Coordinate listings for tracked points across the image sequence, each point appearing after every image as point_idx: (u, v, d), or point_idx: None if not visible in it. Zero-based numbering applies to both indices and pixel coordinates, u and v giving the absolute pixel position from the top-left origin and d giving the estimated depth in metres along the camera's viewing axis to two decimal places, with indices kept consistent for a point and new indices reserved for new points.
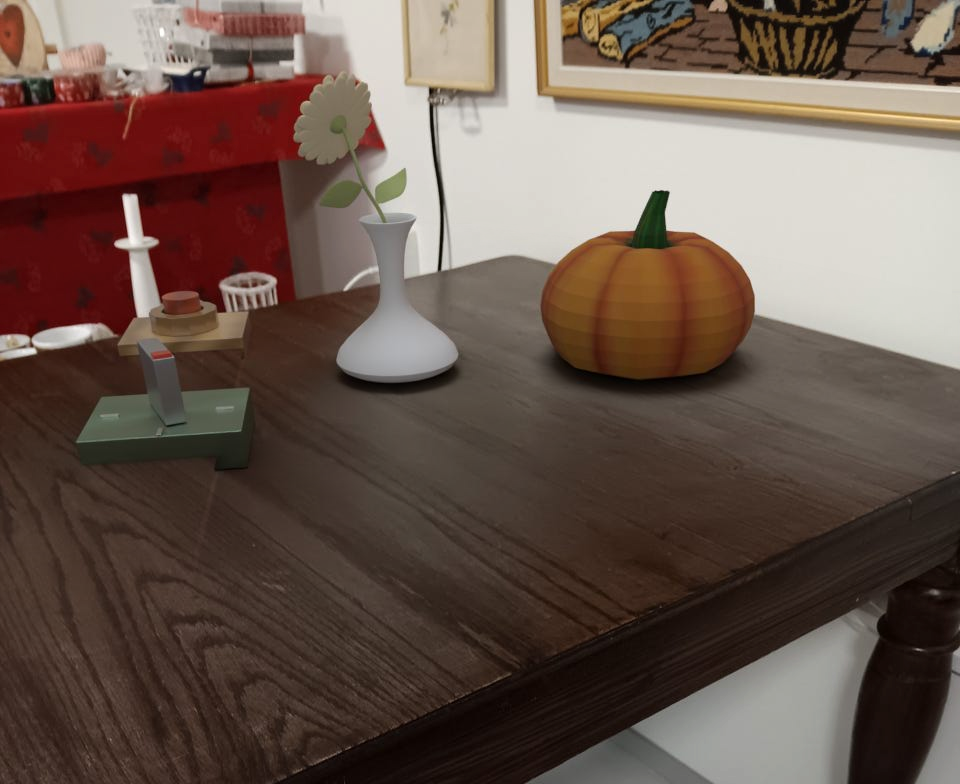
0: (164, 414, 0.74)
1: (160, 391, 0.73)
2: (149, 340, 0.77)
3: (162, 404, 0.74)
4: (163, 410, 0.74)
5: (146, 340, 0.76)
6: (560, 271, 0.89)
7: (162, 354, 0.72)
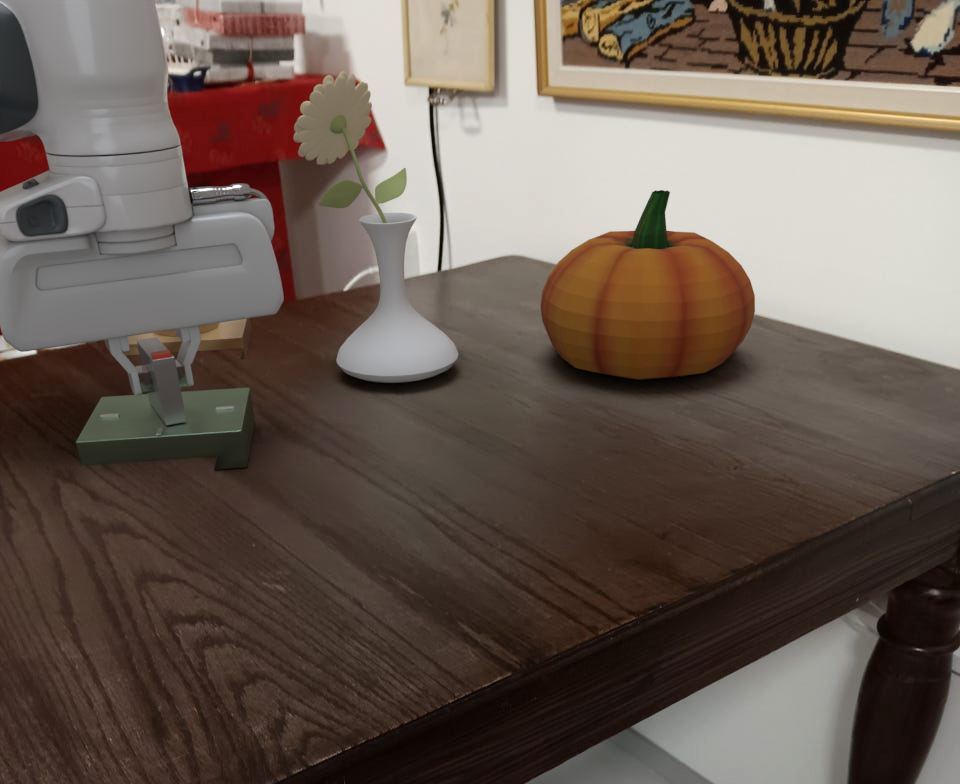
0: (164, 414, 0.74)
1: (160, 391, 0.73)
2: (149, 340, 0.77)
3: (162, 404, 0.74)
4: (163, 410, 0.74)
5: (146, 340, 0.76)
6: (560, 271, 0.89)
7: (162, 354, 0.72)
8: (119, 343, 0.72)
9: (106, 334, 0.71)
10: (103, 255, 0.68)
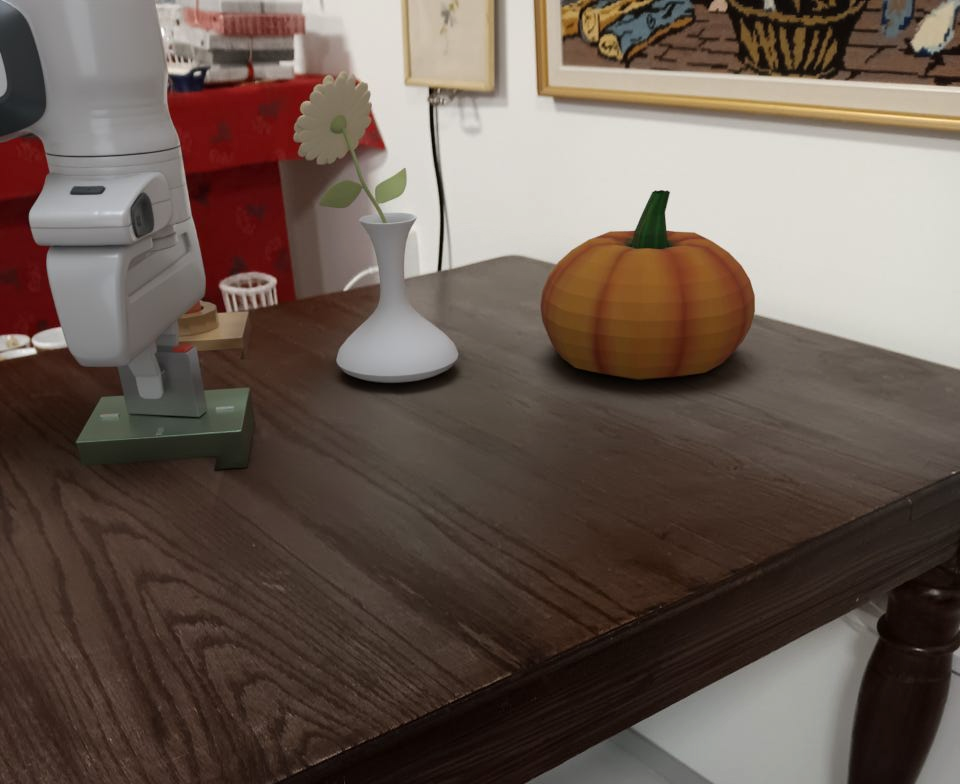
0: (197, 406, 0.76)
1: (193, 382, 0.75)
2: None
3: (195, 396, 0.75)
4: (196, 402, 0.76)
5: None
6: (560, 271, 0.89)
7: (187, 346, 0.74)
8: (152, 345, 0.72)
9: (156, 335, 0.71)
10: (146, 254, 0.69)
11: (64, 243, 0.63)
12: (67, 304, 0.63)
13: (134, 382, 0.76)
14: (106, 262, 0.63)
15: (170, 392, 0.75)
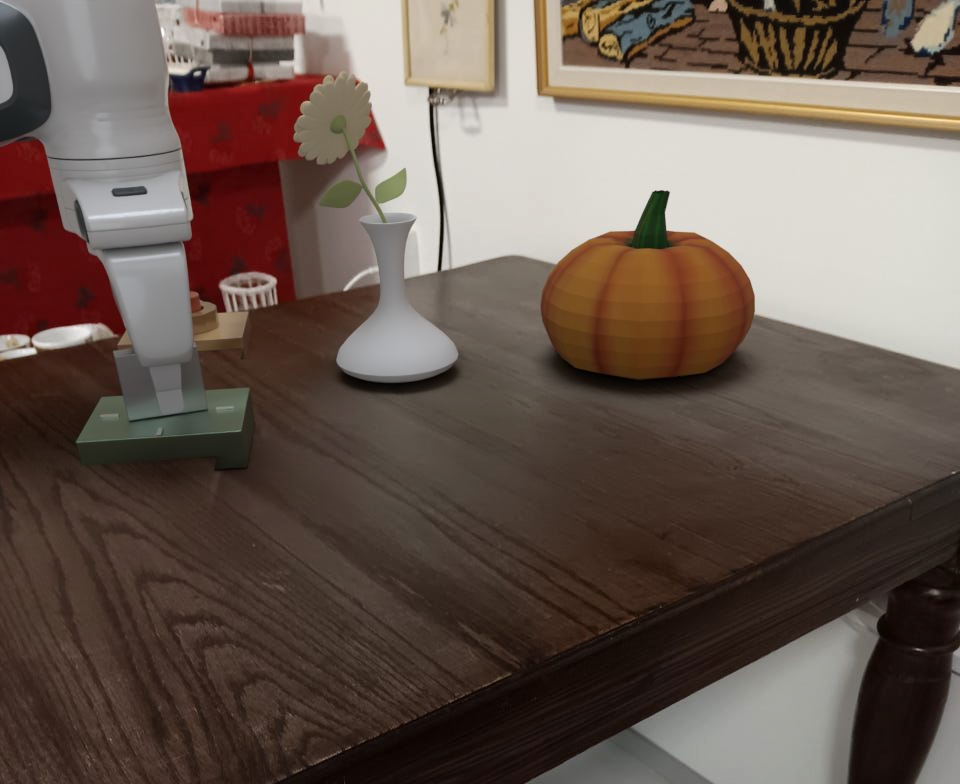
0: (205, 398, 0.77)
1: (201, 375, 0.76)
2: (121, 352, 0.74)
3: (203, 388, 0.77)
4: (204, 394, 0.77)
5: (121, 352, 0.74)
6: (560, 271, 0.89)
7: None
8: None
9: None
10: None
11: (126, 244, 0.63)
12: (136, 304, 0.64)
13: (137, 386, 0.75)
14: (172, 259, 0.64)
15: None
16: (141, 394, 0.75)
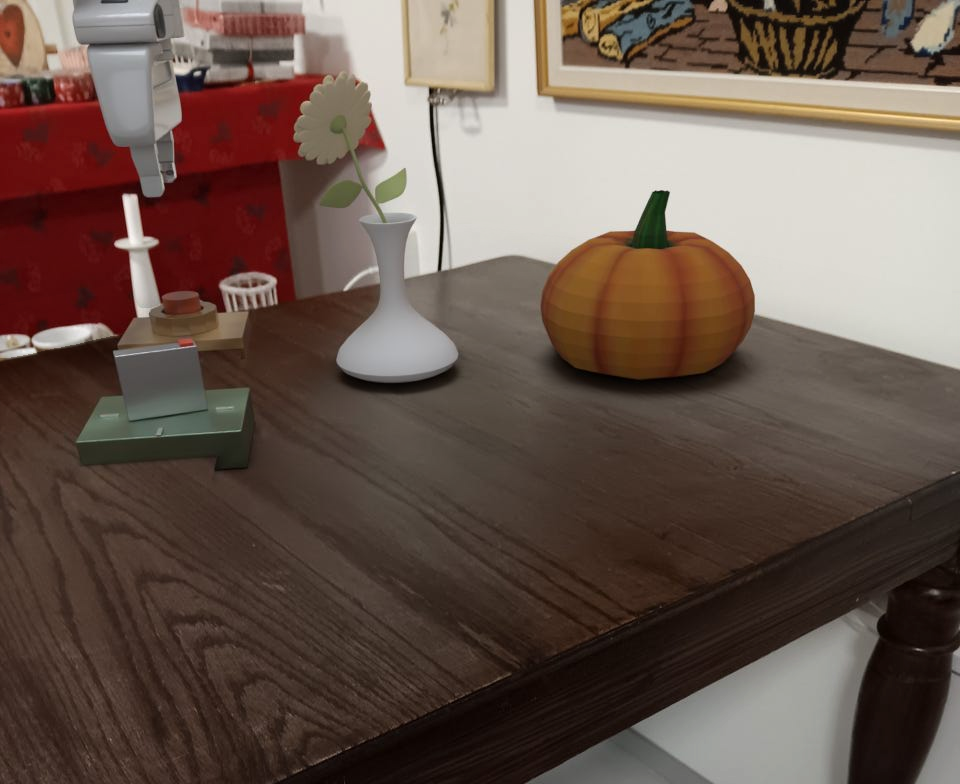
0: (205, 398, 0.77)
1: (201, 375, 0.76)
2: (121, 352, 0.74)
3: (203, 388, 0.77)
4: (204, 394, 0.77)
5: (121, 352, 0.74)
6: (560, 271, 0.89)
7: (190, 340, 0.75)
8: (155, 146, 0.87)
9: (164, 131, 0.88)
10: (154, 62, 0.86)
11: (102, 40, 0.80)
12: (107, 90, 0.81)
13: (137, 386, 0.75)
14: (138, 54, 0.80)
15: (177, 389, 0.76)
16: (141, 394, 0.75)
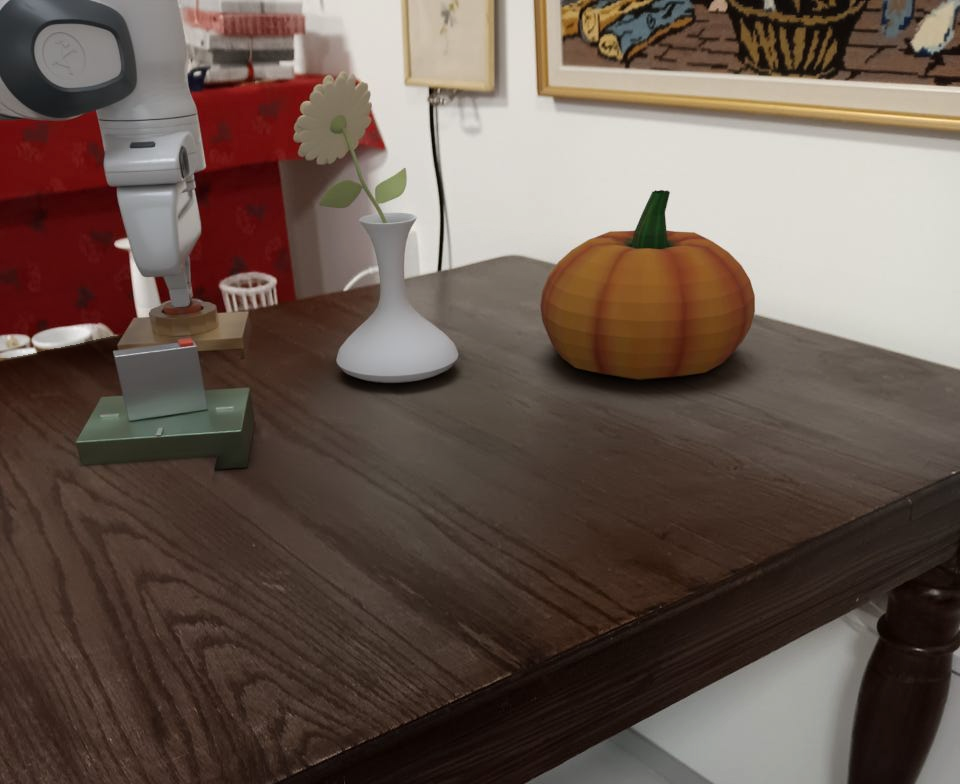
0: (205, 398, 0.77)
1: (201, 375, 0.76)
2: (121, 352, 0.74)
3: (203, 388, 0.77)
4: (204, 394, 0.77)
5: (121, 352, 0.74)
6: (560, 271, 0.89)
7: (190, 340, 0.75)
8: (183, 263, 0.96)
9: (187, 256, 0.94)
10: None
11: (131, 183, 0.86)
12: (135, 228, 0.87)
13: (137, 386, 0.75)
14: (164, 196, 0.86)
15: (177, 389, 0.76)
16: (141, 394, 0.75)
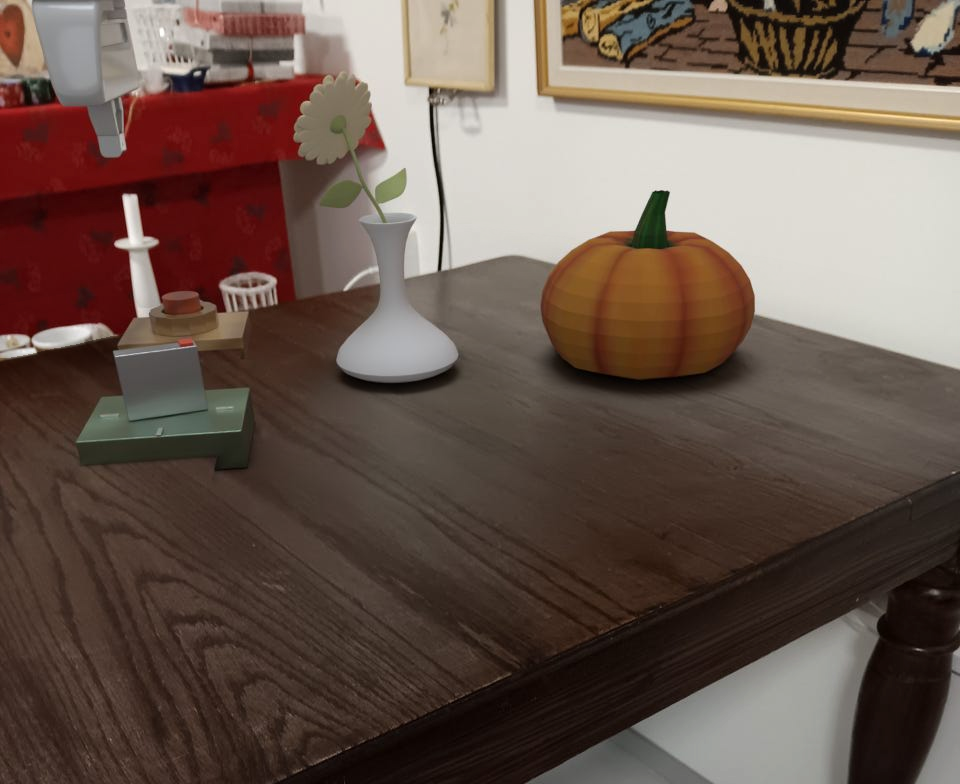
0: (205, 398, 0.77)
1: (201, 375, 0.76)
2: (121, 352, 0.74)
3: (203, 388, 0.77)
4: (204, 394, 0.77)
5: (121, 352, 0.74)
6: (560, 271, 0.89)
7: (190, 340, 0.75)
8: (113, 105, 0.86)
9: (116, 94, 0.84)
10: (105, 20, 0.82)
11: None
12: (52, 45, 0.77)
13: (137, 386, 0.75)
14: (85, 8, 0.76)
15: (177, 389, 0.76)
16: (141, 394, 0.75)
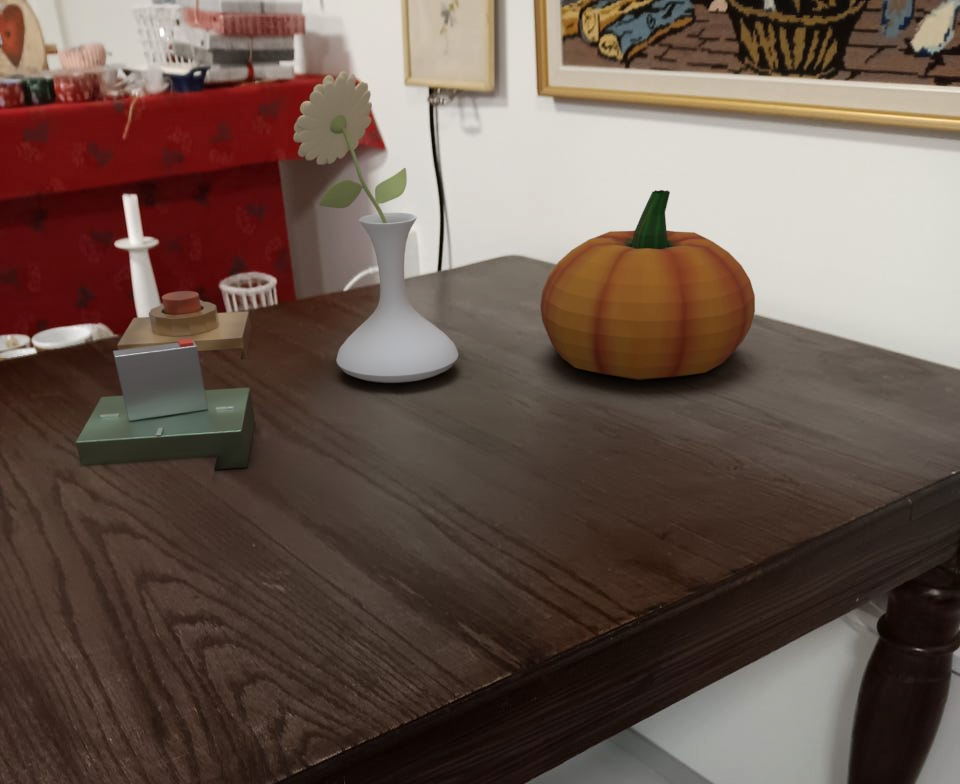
0: (205, 398, 0.77)
1: (201, 375, 0.76)
2: (121, 352, 0.74)
3: (203, 388, 0.77)
4: (204, 394, 0.77)
5: (121, 352, 0.74)
6: (560, 271, 0.89)
7: (190, 340, 0.75)
8: None
9: None
10: None
11: None
12: None
13: (137, 386, 0.75)
14: None
15: (177, 389, 0.76)
16: (141, 394, 0.75)
